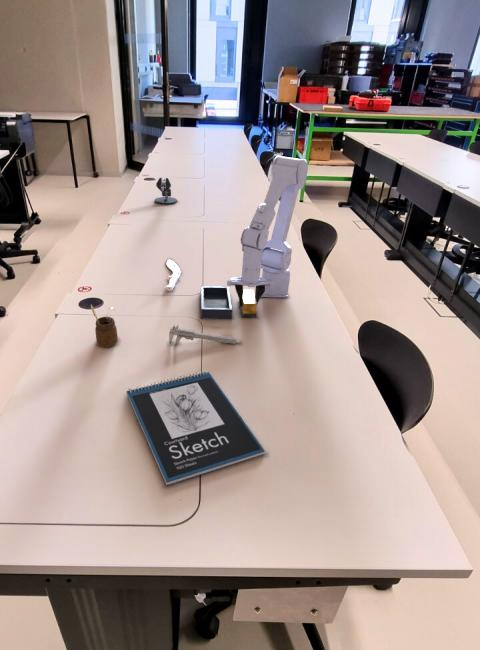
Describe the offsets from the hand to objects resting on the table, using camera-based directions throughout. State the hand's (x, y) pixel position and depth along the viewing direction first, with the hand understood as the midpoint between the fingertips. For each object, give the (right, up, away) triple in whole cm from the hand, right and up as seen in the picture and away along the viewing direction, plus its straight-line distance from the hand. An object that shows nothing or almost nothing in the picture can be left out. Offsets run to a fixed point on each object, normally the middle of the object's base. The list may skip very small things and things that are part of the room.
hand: (247, 305), depth 143 cm
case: (-11, 0, +2) cm, 11 cm away
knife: (-27, +14, +22) cm, 38 cm away
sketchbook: (-17, -32, -44) cm, 57 cm away
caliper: (-14, -13, -17) cm, 26 cm away
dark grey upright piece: (-37, +70, +103) cm, 129 cm away
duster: (0, -1, +1) cm, 1 cm away
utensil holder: (-42, -13, -18) cm, 47 cm away
